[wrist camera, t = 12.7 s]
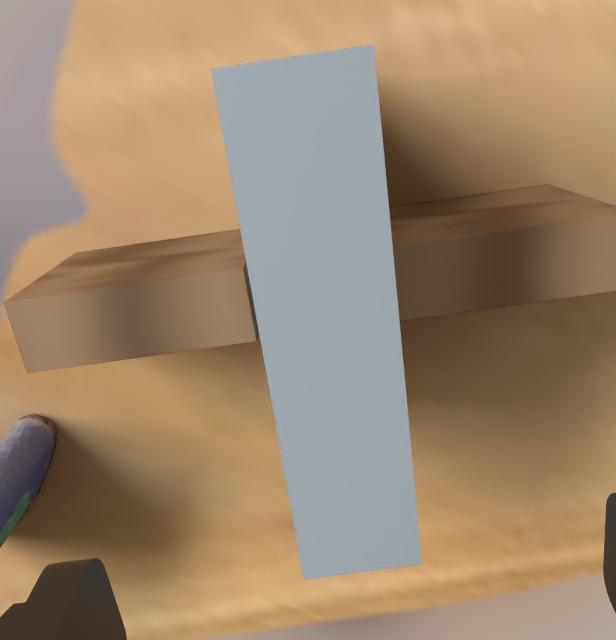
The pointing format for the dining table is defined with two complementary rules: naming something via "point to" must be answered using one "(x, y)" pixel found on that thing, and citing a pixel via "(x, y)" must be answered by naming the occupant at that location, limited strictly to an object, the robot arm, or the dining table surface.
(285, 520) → the dining table surface
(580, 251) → the walnut slotted plate
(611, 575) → the robot arm
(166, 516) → the dining table surface
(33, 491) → the flask
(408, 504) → the tall grey upright block
